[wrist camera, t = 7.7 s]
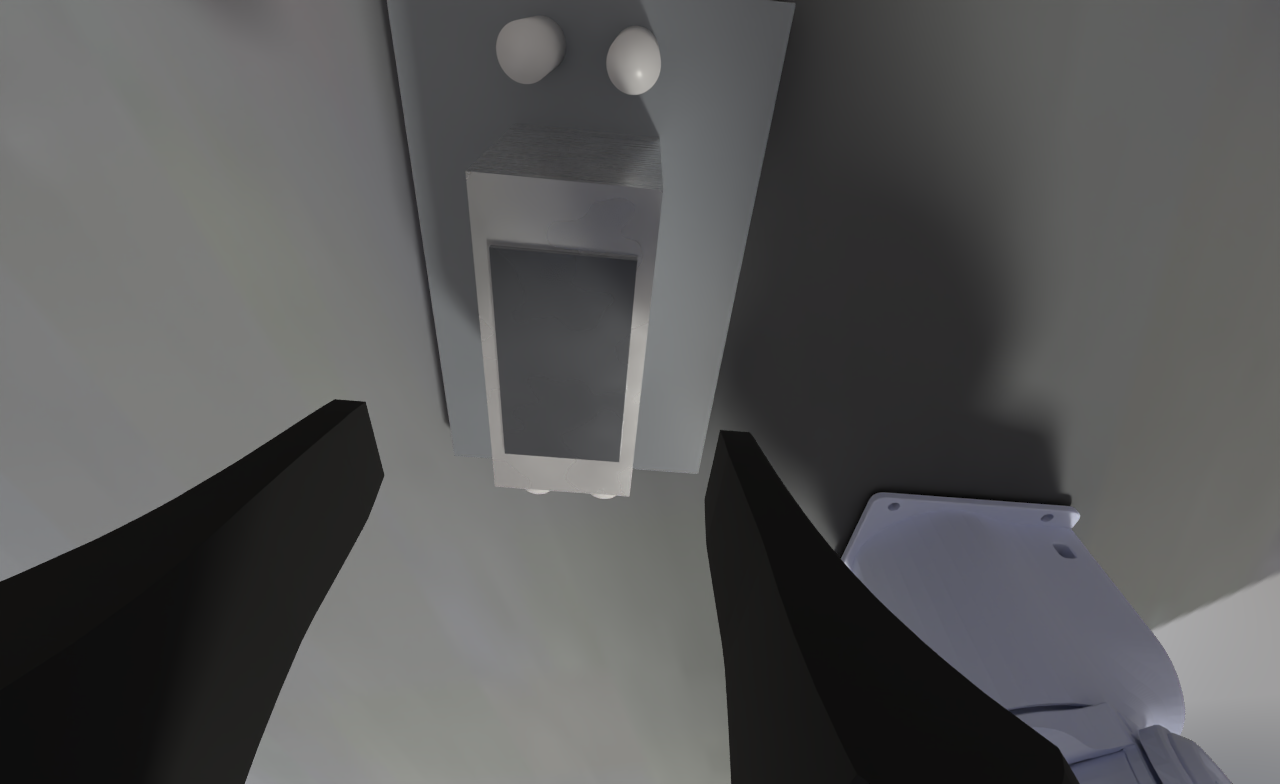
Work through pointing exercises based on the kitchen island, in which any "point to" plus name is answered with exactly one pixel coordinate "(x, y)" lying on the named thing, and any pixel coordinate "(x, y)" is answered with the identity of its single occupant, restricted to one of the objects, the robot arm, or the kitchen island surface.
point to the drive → (564, 300)
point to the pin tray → (606, 102)
